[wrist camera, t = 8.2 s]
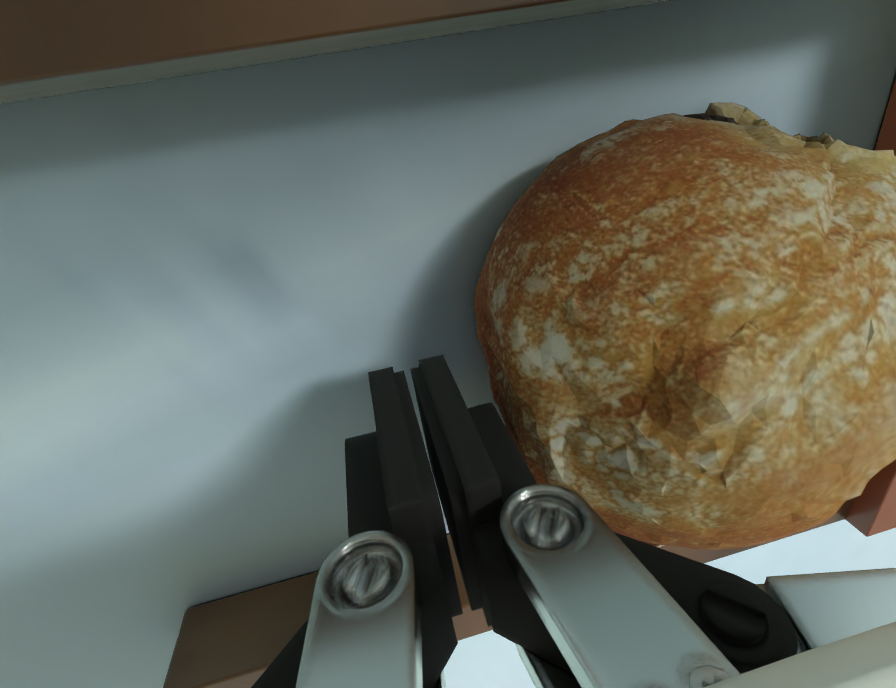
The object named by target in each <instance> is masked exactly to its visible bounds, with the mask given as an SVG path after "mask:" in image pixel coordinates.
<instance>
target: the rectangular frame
mask: <svg viewBox="0 0 896 688" xmlns="http://www.w3.org/2000/svg"><path fill="white" fill-rule="evenodd" d="M664 1H671V0H0V104H3V103H9V102H16V101H22V100H29V99H35V98H42V97H48V96H54V95H61V94H67V93H74V92H80V91H87V90H93V89H100V88H106V87H113V86H119V85H126V84H132V83H139V82H145V81H152V80H158V79H165V78H171V77H178V76H184V75H191V74H197V73H204V72H210V71H217V70H223V69H230V68H236V67H243V66H249V65H256V64H262V63H269V62H275V61H282V60H288V59H295V58H301V57H307V56H314V55H320V54H327V53H333V52H340V51H346V50H353V49H359V48H366V47H372V46H379V45H385V44H392V43H398V42H405V41H411V40H418V39H424V38H431V37H437V36H444V35H450V34H457V33H463V32H470V31H476V30H483V29H489V28H496V27H502V26H509V25H515V24H522V23H528V22H535V21H541V20H548V19H554V18H560V17H567V16H573V15H580V14H586V13H593V12H599V11H606V10H612V9H619V8H625V7H632V6H638V5H645V4H651V3H658V2H664ZM875 150H893V151H894V156H896V79H895V82H894V86H893V89H892V92H891V96H890V99H889V103H888V106H887V110H886V113H885V116H884V120H883V123H882V127H881V130H880V134H879V137H878V141H877V144H876V147H875ZM843 519H846V520H847V521H848V522H849V523H851V524H852V525H853V526H854V527H855V528H857V529H858V530H859V531H860V532H861V533H863V534H864V535H865V536H871V535H874V534H877V533H880V532H883V531H886V530H889V529H892V528H896V459H895V460H894V461H893V462H892V463H890V464H889V465H887V466H885V467H884V468H883V469H881V470H880V471H879V472H878V473H877V474H875V475H874V476H873V477H872V478H871V479H870V480H869V481H868V483H867V484H866V486H865V488H864V490H863V492H862V494H861V495H860V496H858V497H855V498H852V499H850V500H847V501H845V502H844V503H843V504H842V506H841V507H840V508H839V509H838V510H837V511H836V513H835V514H834V515H833V516H832V517H831V518H829V519H828V520H826V521H824V522H823V523H820V524H818V525H816V526H813V527H811V528H808V529H806V530H804V531H800V532H796V533H793V534H791V535H789V536H792V535H795V534H799V533H802V532H805V531H808V530H811V529H814V528H818V527H821V526H824V525H827V524H830V523H834V522H837V521H840V520H843ZM789 536H786V537H789ZM786 537H784V538H786ZM447 539H448V544H449V548H450V553H451V558H452V563H453V568H454V572H455V577H456V582H457V587H458V591H459V596H460V601H461V606H462V611H463V614H461V615H458V616H455V617H452V620H453V625H454V629H455V633H456V638H457V641H458V640H462V639H465V638H468V637H471V636H474V635H477V634H481V633H484V632H487V631H490V630H493V628H492V626H489V627H488V625H487V622H486V618H485V615H484V612H483V609H482V608H481V609H478V610H475V611H472V610H471V607H470V604H469V600H468V597H467V593H466V589H465V586H464V582H463V579H462V575H461V572H460V568H459V565H458V561H457V557H456V554H455V550H454V547H453V543H452V540H451V536H450V534H447ZM781 539H783V538H781ZM777 540H779V539H777ZM773 541H776V540H773ZM773 541H770V542H773ZM641 542H642V541H641ZM770 542H766V543H762V544H757V545H751V546H746V547H741V548H731V549H721V550H699V549H691V548H684V547H677V546H668V545H660V544H653V543H647V542H644V543H647V544H650V545H652V546H655V547H658V548H661V549H664V550H667V551H669V552H672V553H675V554H678V555H681V556H683V557H686V558H689V559H692V560H695V561H698V562H700V563H706V562H710V561H713V560H716V559H719V558H722V557H725V556H729V555H732V554H735V553H738V552H741V551H745V550H748V549H751V548H754V547H757V546H760V545H764V544H767V543H770ZM318 573H319V571H318V572H314V573H311V574H307V575H304V576H300V577H297V578H293V579H290V580H286V581H283V582H279V583H276V584H272V585H269V586H265V587H262V588H258V589H255V590H251V591H248V592H244V593H241V594H237V595H234V596H230V597H227V598H223V599H220V600H216V601H213V602H209V603H206V604H202V605H199V606H195V607H192V608H188V609H187V610H186V611H185V614H184V618H183V621H182V625H181V628H180V631H179V635H178V638H177V642H176V645H175V648H174V652H173V655H172V659H171V662H170V666H169V669H168V672H167V676H166V679H165V683H164V686H163V688H251V687H252V686H253V685H254V683H255V682H256V681H257V680H258V679H259V677H260V676H261V675H262V674H263V673H264V671H265V670H266V669H267V668H268V667H269V665H270V664H271V663H272V662H273V661H274V659H275V658H276V657H277V656H278V654H279V653H280V652H281V651H282V650H283V648H284V647H285V646H286V645H287V644H288V642H289V641H290V640H291V639H292V638H293V636H294V635H295V634H296V633H297V632H298V630H299V629H300V628H301V627H302V626H303V624H304V623H305V622H306V621H307V620H308V618H309V615H310V610H311V605H312V600H313V594H314V589H315V584H316V579H317V576H318Z"/></svg>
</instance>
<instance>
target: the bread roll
mask: <svg viewBox="0 0 896 688" xmlns="http://www.w3.org/2000/svg"><path fill="white" fill-rule="evenodd" d="M474 310H475V316H476V322H477V337H478V339H479V342H480V344H481V347H482V350H483V353H484V356H485V360H486V362H487V364H488V367H489V377H490V385H491V389H492V393H493V398H494V401H495V402H496V404H497V405H498V407H499V409H500V412H501V414H502V417H503V420H504V423H505V426H506V428H507V430H508V432H509V434H510V435H511V437H512V439H513V441H514V443H515V444H516V446H517V448H518V450H519V452H520V454H521V455H522V457H523V459H524V461H525V463H526V464H527V466H528V468H529V470H530V472H531V473H532V475H533V477H534V479H535V481H536V482H537V484H547V483H550V484H555V485H560V486H564V487H566V488H568V489H570V490H572V491H574V492H576V493H577V494H578V495H580V496H581V497H582V498H583V499H584V500H586V501H587V503H588V504H589V505H590V506H591V507H592V508H593V509H594V510H595V512H596V513H597V514H598V515H599V516H600V517H601V518H602V519H603V521H604V522H605V523H606V524H607V525H608V526H609V527H610V528H611V529H612V531H613V532H616V533H619V534H621V535H624V536H627V537H630V538H633V539H636V540H638V541H642V542H647V543H653V544H660V545H668V546H677V547H684V548H691V549H699V550H721V549H731V548H741V547H746V546H751V545H757V544H762V543H766V542H770V541H773V540H777V539H781V538H784V537H786V536H789V535H791V534H793V533H796V532H800V531H804V530H806V529H808V528H811V527H813V526H816V525H818V524H820V523H823V522H824V521H826V520H828V519H829V518H831V517H832V516H833V515H834V514H835V513H836V511H837V510H838V509H839V508H840V507H841V506H842V504H843V503H844V502H845V501H847V500H850V499H852V498H855V497H858V496H860V495H861V494H862V492H863V490H864V488H865V486H866V484H867V483H868V481H869V480H870V479H871V478H872V477H873V476H874V475H875V474H877V473H878V472H879V471H880V470H881V469H883V468H884V467H885V466H887V465H889V464H890V463H892V462H893V461H894V460H895V459H896V156H894V151H893V150H868V149H864V148H860V147H856V146H852V145H848V144H846V143H844V142H843V141H841V140H840V139H838V140H835V141H834V140H833V139H832V137H831V136H830V135H829V134H825V133H823V134H822V135H821V137H820V138H819V137H817V136H812V137H806V136H802V135H800V133H799V134H797V135H795V136H790V135H788V134H786V133H784V132H781V131H779V130H778V129H777V128H775V127H774V126H770V125H769V123H768V121H765V119H761V118H760V117H759V116H757V115H756V114H755V113H753V112H752V111H750V110H749V109H748V108H746V107H745V106H741V105H738V104H735V103H710V105H709V107H708V109H707V111H706V113H702V114H691V115H684V116H681V115H678V114H674V113H672V114H665V115H661V116H657V117H653V118H649V119H645V120H634V119H633V120H628V121H624V122H623V123H621V124H619V125H618V126H616V127H614V128H613V129H611V130H609V131H608V132H606V133H603V134H600V135H597V136H595V137H593V138H591V139H588V140H586V141H584V142H582V143H580V144H578V145H576V146H575V147H573V148H571V149H570V150H568V151H566V152H565V153H563V154H561V155H560V156H558V157H557V158H556V159H555V160H554V161H553V162H552V163H551V164H550V165H549V166H548V167H547V168H546V169H545V170H544V171H543V172H542V173H541V174H540V175H539V176H538V177H537V178H536V179H535V180H534V182H533V183H532V184H531V185H530V186H529V187H528V189H527V190H526V191H525V192H524V193H523V194H522V196H521V197H520V198H519V199H518V200H517V201H516V203H515V204H514V205H513V207H512V209H511V210H510V212H509V213H508V215H507V216H506V218H505V219H504V221H503V223H502V224H501V226H500V228H499V229H498V231H497V233H496V236H495V238H494V240H493V243H492V245H491V247H490V250H489V252H488V254H487V257H486V260H485V263H484V266H483V269H482V271H481V274H480V277H479V280H478V283H477V285H476V292H475V299H474Z"/></svg>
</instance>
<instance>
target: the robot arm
mask: <svg viewBox="0 0 896 688" xmlns="http://www.w3.org/2000/svg"><path fill="white" fill-rule="evenodd" d="M368 374H369V382H370V389H371V396H372V403H373V410H374V417H375V424H376V432H372V433H368V434H364V435H360V436H356V437H352V438H348V439H346V440H345V462H346V487H347V511H348V536H349V538H348V539H347V540H345V541H343V542H341V543H340V544H339V545H338V546H337V547H336V548H335V549H334V550H333V551H331V552H330V554H329V555H328V556H327V558H326V559H325V561H324V562H323V564H322V565H321V568H320V571H319V573H318V576H317V579H316V584H315V589H314V594H313V600H312V605H311V610H310V615H309V618H308V620H307V621H306V622H305V623H304V624H303V626H302V627H301V628H300V629H299V630H298V632H297V633H296V634H295V635H294V636H293V638H292V639H291V640H290V641H289V642H288V644H287V645H286V646H285V647H284V648H283V650H282V651H281V652H280V653H279V654H278V656H277V657H276V658H275V659H274V661H273V662H272V663H271V664H270V665H269V667H268V668H267V669H266V670H265V671H264V673H263V674H262V675H261V676H260V677H259V679H258V680H257V681H256V682H255V683H254V685H253V686H252V687H251V688H445V677H444V672H443V669H444V667H445V665H446V664H447V662H448V660H449V658H450V656H451V654H452V653H453V651H454V649H455V647H456V645H457V644H458V642H457V638H456V633H455V629H454V625H453V620H452V617H455V616H458V615H461V614H463V611H462V606H461V601H460V596H459V591H458V587H457V582H456V577H455V572H454V568H453V563H452V558H451V553H450V548H449V544H448V539H447V534H446V529H445V524H444V520H443V515H442V510H441V506H440V501H441V504H442V508H443V511H444V515H445V518H446V522H447V525H448V529H449V533H450V536H451V540H452V543H453V547H454V550H455V554H456V557H457V561H458V565H459V568H460V572H461V575H462V579H463V582H464V586H465V589H466V593H467V597H468V600H469V604H470V607H471V610H472V611H475V610H478V609H481V608H482V609H483V612H484V615H485V618H486V622H487V625H488V627H489V626H492V628H493V631H494V632H495V633H497V634H499V635H501V636H503V637H505V638H507V639H508V640H510V641H512V642H514V643H515V644H516V647H517V650H518V653H519V656H520V658H521V660H522V662H523V664H524V665H525V667H526V669H527V671H528V673H529V675H530V677H531V679H532V681H533V683H534V685H535V687H536V688H896V568H887V569H873V570H858V571H843V572H829V573H814V574H800V575H785V576H770V577H766V580H765V584H754V583H751V582H749V581H747V580H745V579H743V578H741V577H739V576H737V575H734V574H731V573H729V572H726V571H723V570H720V569H717V568H714V567H712V566H709V565H706V564H703V563H700V562H698V561H695V560H692V559H689V558H686V557H683V556H681V555H678V554H675V553H672V552H669V551H667V550H664V549H661V548H658V547H655V546H652V545H650V544H647V543H644V542H641V541H638V540H636V539H633V538H630V537H627V536H624V535H621V534H619V533H616V532H613V531H612V529H611V528H610V527H609V526H608V525H607V524H606V523H605V522H604V521H603V519H602V518H601V517H600V516H599V515H598V514H597V513H596V512H595V510H594V509H593V508H592V507H591V506H590V505H589V504H588V503H587V501H586V500H584V499H583V498H582V497H581V496H580V495H578V494H577V493H576V492H574V491H572V490H570V489H568V488H566V487H564V486H560V485H555V484H550V483H547V484H537V482H536V481H535V479H534V477H533V475H532V473H531V472H530V470H529V468H528V466H527V464H526V463H525V461H524V459H523V457H522V455H521V454H520V452H519V450H518V448H517V446H516V444H515V443H514V441H513V439H512V437H511V435H510V434H509V432H508V430H507V428H506V426H505V425H504V423H503V421H502V419H501V417H500V416H499V414H498V412H497V410H496V408H495V407H494V405H493V404H492V403H486V404H482V405H478V406H474V407H470V408H467V407H466V405H465V402H464V400H463V398H462V396H461V394H460V391H459V389H458V387H457V385H456V383H455V381H454V378H453V376H452V374H451V372H450V370H449V368H448V365H447V363H446V361H445V359H444V357H443V355H440V356H436V357H431V358H427V359H423V360H419V367H417V368H413V369H411V374H412V379H413V383H414V388H415V393H416V398H417V402H418V407H419V412H420V417H421V421H422V426H423V431H424V436H425V440H426V445H427V450H428V455H429V459H430V464H431V467H430V464H429V460H428V456H427V453H426V449H425V446H424V442H423V439H422V435H421V431H420V428H419V424H418V421H417V417H416V413H415V410H414V406H413V403H412V399H411V396H410V392H409V388H408V385H407V381H406V378H405V374H404V371H400V372H396V373H394V371H393V367H389V368H385V369H380V370H376V371H372V372H368ZM431 468H432V471H431ZM432 472H433V474H432ZM433 476H434V478H433ZM434 479H435V482H434ZM435 483H436V485H435ZM436 486H437V489H436ZM437 490H438V493H437ZM438 494H439V497H440V501H439V497H438Z"/></svg>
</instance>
